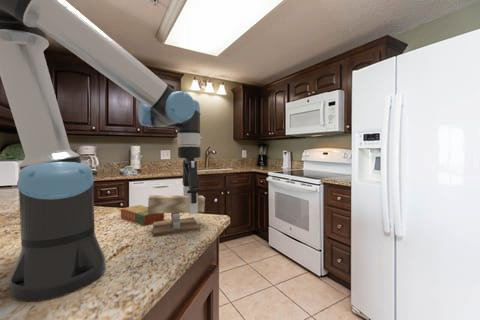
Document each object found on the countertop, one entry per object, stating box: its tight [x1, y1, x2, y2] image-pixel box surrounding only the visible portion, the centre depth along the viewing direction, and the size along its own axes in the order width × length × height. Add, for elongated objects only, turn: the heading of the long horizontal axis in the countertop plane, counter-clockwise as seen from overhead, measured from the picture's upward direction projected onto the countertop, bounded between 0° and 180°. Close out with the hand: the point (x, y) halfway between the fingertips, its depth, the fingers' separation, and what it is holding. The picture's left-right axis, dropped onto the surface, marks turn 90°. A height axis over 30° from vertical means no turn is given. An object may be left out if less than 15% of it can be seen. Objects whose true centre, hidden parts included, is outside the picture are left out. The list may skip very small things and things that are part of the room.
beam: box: [147, 194, 206, 214], centre depth 77 cm, size 18×4×5 cm, turn 111°
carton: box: [120, 204, 165, 227], centre depth 87 cm, size 8×16×4 cm, turn 55°
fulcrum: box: [152, 213, 201, 237], centre depth 77 cm, size 12×14×5 cm
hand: (190, 208), depth 79 cm, fingers open, 13 cm apart
